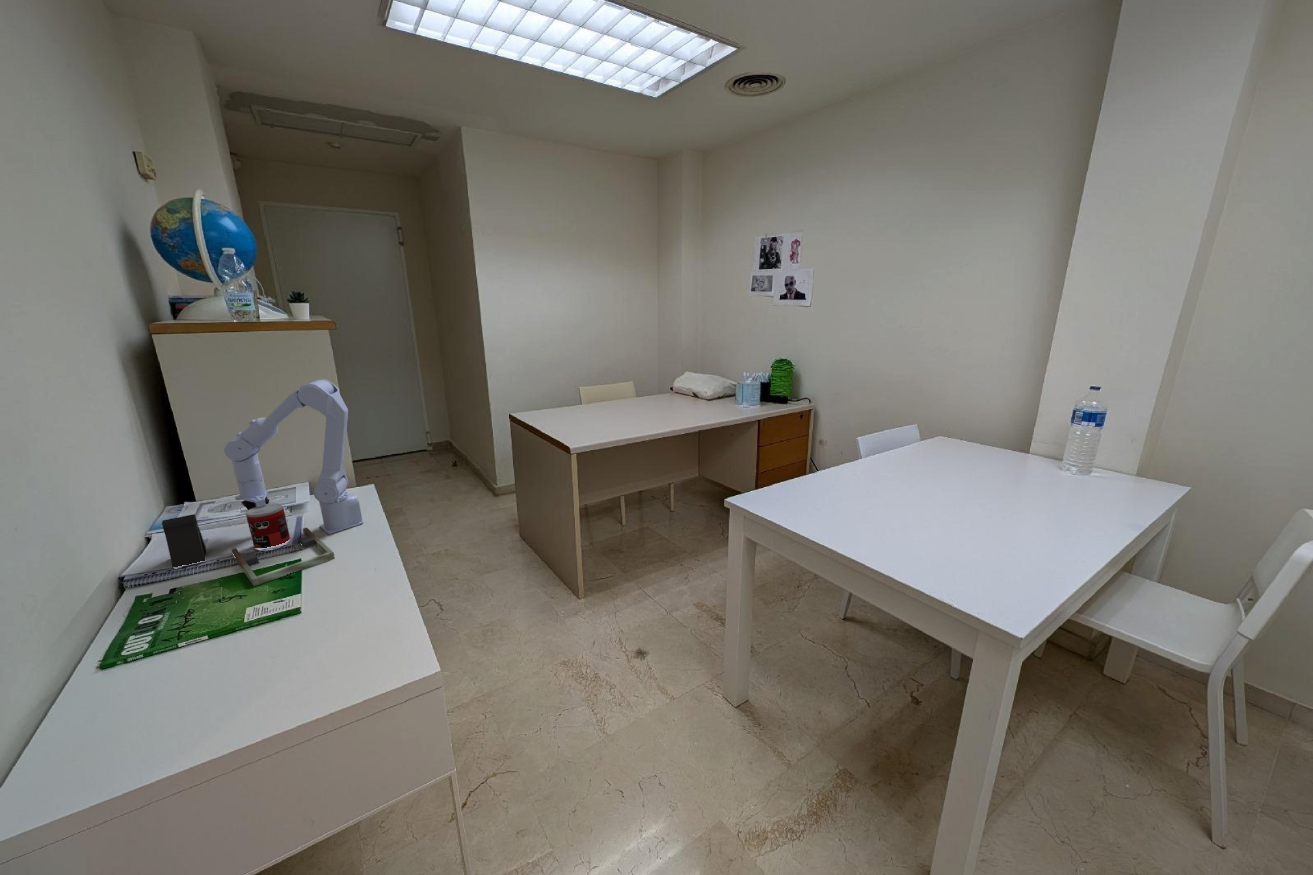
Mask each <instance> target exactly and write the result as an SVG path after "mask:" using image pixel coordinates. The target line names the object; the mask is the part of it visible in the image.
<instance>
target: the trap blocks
mask: <svg viewBox="0 0 1313 875" xmlns="http://www.w3.org/2000/svg"><path fill="white" fill-rule="evenodd" d="M298 540H299V544H300V543H301V544H302V545H301V544H300V545H301V546H302V547H303V549H308V548H311V547H313V546H316V545H315V541H314V539H313V538H312V537H311V536H310V535H307V536H305V535H304V536H301V537H298ZM241 556H242V557H243V559H244V560H245V561H246V563H247V564H248V565H249V567H252V566H255V565H258V564H260V562H259V557H258V555H257V554H256V553H255V552H254V551H253V552H250V553H245V554H243V555H242V554H241Z"/></svg>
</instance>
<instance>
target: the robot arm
mask: <svg viewBox="0 0 1313 875" xmlns="http://www.w3.org/2000/svg"><path fill="white" fill-rule="evenodd" d="M306 406H307V407H309V408H311V409H313V410H315V411H318V412H319V413H320V414H321V415H323V416H324V417H325V431H324V443H323V455H322V456H323V457H322V468H321V472H320V474H319V476H318V481H317V485H316V486H315V487H314V489H313V497H314V498H315V499H316V500H317V501H318V502H319V507H320V513H321V516H322V517H321V518H322V521H323V523H322V524H319V528H321V529H322V530H323V531H324V532H325V533H327V534H329V535H330V534H335V533H337V532H340V531H343V530H346V529H350V528H353V527H356V526H359V525H363V524H364V523H365V522H364V521H363V517H362V512H361V506H360V505H361V504H360V501H359V499H358V497H357V495H356V494H355V493H350V494H348V492H347V491H346V489H347V488H348V487H349V480H348V477H347V474H346V473H347V470H346V469H345V468H344V466H345V465H344V464H345V452H346V443H347V441H346V440H347V429H348V420H349V419H348V418H349V409H348V407H347V406H346V403H345V401H344V400H343V398H342V395H341V394H340V388H339V387H337V386H336V385H335V383H333V382H331V381H330V380H329V379H324V378H318V379H315V380H313V381H312V382H310V383H305V384H303V385H302V386H300V387H299V389H296V390H295V391H293V392H292V393H290V394H289V395H288V396H287V397H286V398H285V399H284V400H282V401H281V402H280V403H279V405H277V407H275V409H274V410H272V412H270V413H269V414H268V415H267V416H266V417H259V418H257V419H251V420H250V421H249V422H248V424H249V426H248V427H247V428H245V429H244V430H243V431H239V432H238V433H237V434H236V437H237V438H236V439H233V440H230V441H228V442H227V444H225V446H224V448H223V451H224V455H225V456H226V457H227V458H228V459H229V460H231V464H232V467H233V472H234V476H235V481H236V484H237V489H238V491H239V495H236V496H234V499H235V501H241V505H242V506H244V508H246V509H247V511H248V510H250V509H252V508H254V507H257V508H258V507H262V506H266V504H270V499H269V498H268V496H267V495H268V490H266V485H265V480H264V475H263V471H262V466H261V462H260V459H259V453H260V450H261V448H263V446H264V445H265V444H267V443H268V442H269V441H270V440H271V439H272V438H273V437H274V436H275V435H276V434H278V432H279V425H280V424H281V423H282V422H283V421H284V420H285V419H287V418H288V417H289V416H290V415H292V414H293V413H294V412H295V411H296V410H298V409H301V408H304V407H306Z"/></svg>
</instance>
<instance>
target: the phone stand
mask: <svg viewBox="0 0 1313 875" xmlns="http://www.w3.org/2000/svg"><path fill="white" fill-rule="evenodd" d="M161 525H162V530H163V532H164V536H165V540H166V543H167V544H166V545H167V548H168V553H169V557H170V562H171V566H172V568H173V567H178V566H182V565H189V564H192V563H197V562H200V561H205V556H206V557H207V550H206V549H207V546H206V544H205V541H204V538H203V535H202V532H201V529H200V527H199V523H198V521H197V517H196V514H193V513H192V514H188V515H184V516H178V517H174V518H168V519H164V520H162V521H161Z"/></svg>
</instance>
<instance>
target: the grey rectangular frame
mask: <svg viewBox="0 0 1313 875" xmlns="http://www.w3.org/2000/svg"><path fill="white" fill-rule="evenodd" d="M302 532H303V535H304V536H307V535H310V536H311V537H312V538H313V539H314V541H315V545H314V546H316V547H317V548H318V549H319V550H320V551H321V552H322V554H319V555H316V556H313V557H311V558H308V559H304V560H302V561H298V562H295V563H292V564H290V565H286V566H283V567H281V568H278V569H275V570H272V571H269V572H266V573H263V574H260V575H256V574H255V572H254V571H253V569H251V568H252V567H251V566H249V565H248V564H247V563H246V561H245V560H244V559H243V557H242V554H241V553H240V552H239V550H238V549H237V548H233V549H231V554H232V553H233V554H234V556H235V557H236V560H237V561H236V560H235V561H236V562H237V563H238V566H239V567H240V569H242V572H243V573H244V575H246V578H248V580H249V581H250V583H251V584H252V586H253V587H257V586H259V585H262V584H265V583H268V582H271V581H273V580H277V579H279V578H280V579H281V578H282V577H285V576H287V574H288V575H291V574H294V573H296V572H299V571H302V570H305V569H308V568H311V567H314V566H317V565H319V564H322V563H325V562H328V561H330V560H331V561H332V560H333V559H335V558H336V556H335V553H334V551H333V550H332V549H331V548H330V547H329V546H327V545H326V544H325V543H324V541H322V540H321V539H320V538H319V537H318V536H317V535H316V534H315V533H313V531H311V530H310V529H309V528H308V527H302ZM233 554H232V555H233ZM293 572H294V573H293ZM290 573H291V574H290Z"/></svg>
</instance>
